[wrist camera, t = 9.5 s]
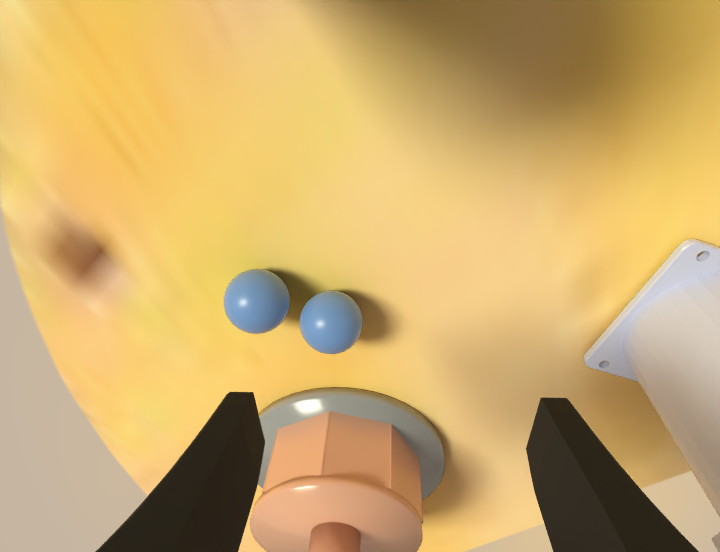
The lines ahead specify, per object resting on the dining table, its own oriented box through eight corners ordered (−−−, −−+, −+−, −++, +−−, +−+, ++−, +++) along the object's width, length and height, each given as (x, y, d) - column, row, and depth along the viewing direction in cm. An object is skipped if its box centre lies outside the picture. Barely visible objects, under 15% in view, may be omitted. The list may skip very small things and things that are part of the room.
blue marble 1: (301, 267, 22) (290, 306, 19) (287, 313, 23) (275, 354, 21) (239, 248, 21) (220, 286, 19) (229, 296, 23) (210, 337, 20)
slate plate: (478, 419, 27) (480, 430, 27) (400, 521, 34) (401, 532, 34) (268, 363, 25) (264, 374, 25) (232, 483, 33) (229, 494, 32)
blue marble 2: (372, 288, 22) (370, 329, 20) (353, 331, 24) (349, 374, 21) (313, 271, 22) (303, 310, 19) (298, 316, 23) (288, 357, 21)
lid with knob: (439, 430, 27) (456, 582, 20) (392, 511, 32) (393, 652, 26) (280, 396, 26) (243, 544, 19) (259, 486, 31) (224, 625, 25)
